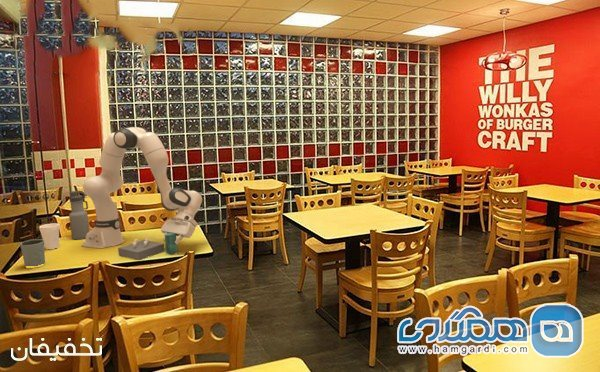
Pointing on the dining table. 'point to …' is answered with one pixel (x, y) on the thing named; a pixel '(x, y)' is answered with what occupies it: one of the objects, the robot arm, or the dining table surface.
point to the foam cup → (50, 235)
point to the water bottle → (78, 215)
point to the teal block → (170, 244)
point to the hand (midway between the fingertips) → (170, 242)
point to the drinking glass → (33, 252)
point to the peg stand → (141, 249)
